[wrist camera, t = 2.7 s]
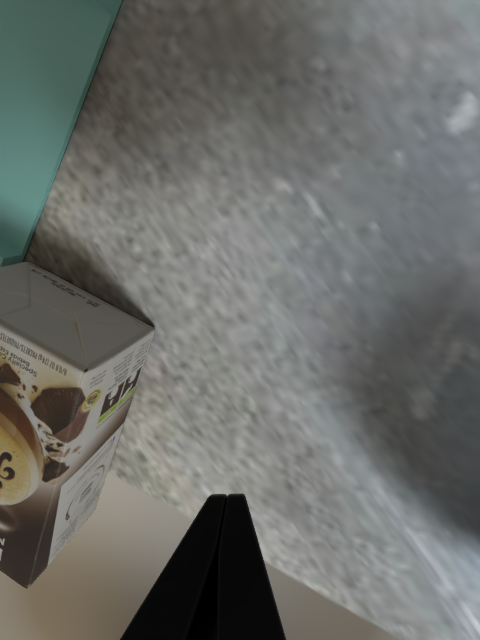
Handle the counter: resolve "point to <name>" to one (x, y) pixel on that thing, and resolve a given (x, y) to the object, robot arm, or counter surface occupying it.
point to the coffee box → (58, 409)
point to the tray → (41, 101)
